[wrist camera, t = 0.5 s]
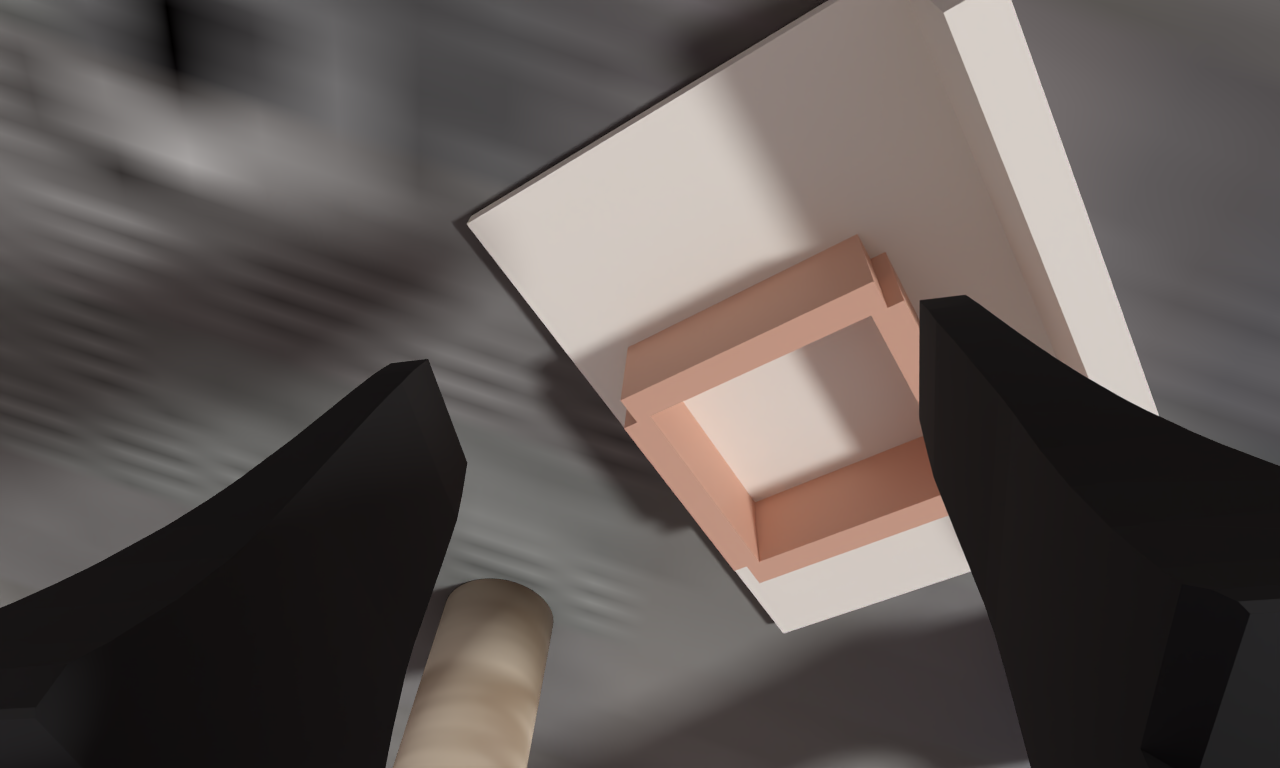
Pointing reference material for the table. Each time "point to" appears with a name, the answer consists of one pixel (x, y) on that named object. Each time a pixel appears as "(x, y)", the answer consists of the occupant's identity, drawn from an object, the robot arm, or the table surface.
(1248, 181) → the table surface
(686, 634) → the table surface
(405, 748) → the beige cylinder
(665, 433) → the cup bracket
